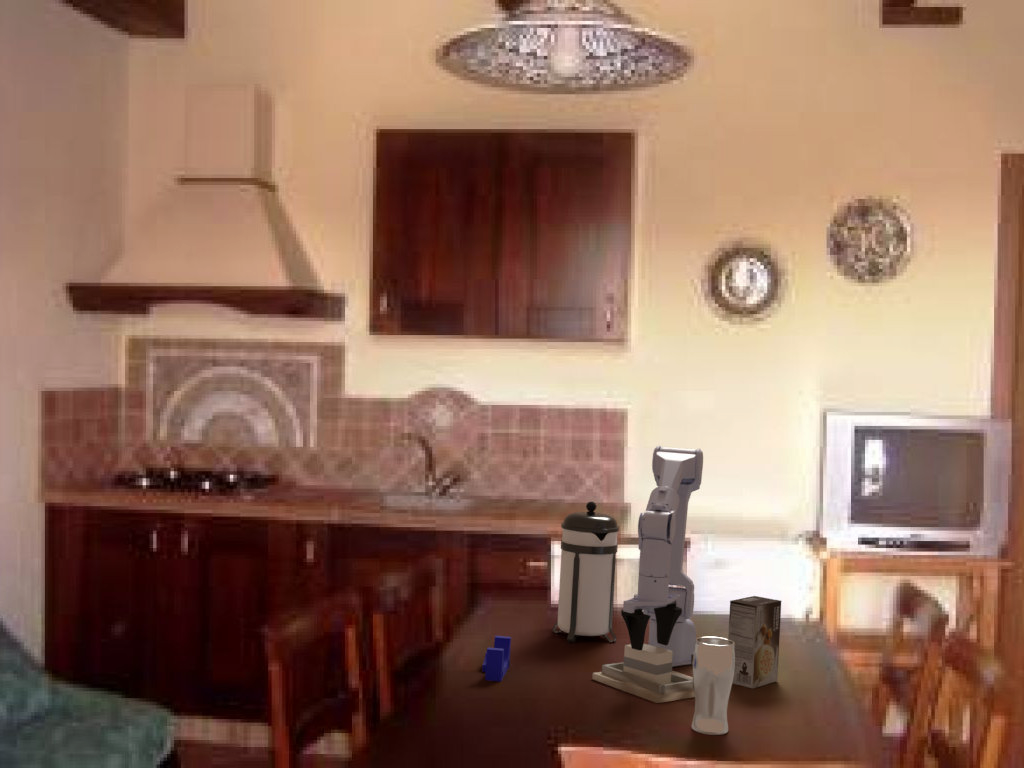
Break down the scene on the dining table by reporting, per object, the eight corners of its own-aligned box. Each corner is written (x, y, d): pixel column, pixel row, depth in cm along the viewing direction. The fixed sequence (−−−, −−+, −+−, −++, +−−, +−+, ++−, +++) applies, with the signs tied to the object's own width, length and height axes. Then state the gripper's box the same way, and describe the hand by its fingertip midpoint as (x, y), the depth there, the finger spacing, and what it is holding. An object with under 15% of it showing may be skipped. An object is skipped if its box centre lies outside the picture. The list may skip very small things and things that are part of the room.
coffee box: (749, 675, 248) (754, 594, 248) (778, 681, 244) (782, 600, 244) (724, 682, 241) (729, 599, 241) (753, 689, 237) (758, 605, 237)
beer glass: (684, 722, 212) (689, 635, 212) (724, 724, 213) (729, 636, 212) (694, 735, 205) (699, 645, 205) (735, 736, 206) (740, 646, 205)
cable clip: (486, 665, 245) (488, 635, 245) (509, 667, 245) (510, 636, 245) (477, 680, 233) (478, 648, 233) (500, 682, 233) (502, 650, 233)
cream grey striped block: (638, 673, 239) (639, 642, 239) (671, 682, 233) (673, 651, 233) (622, 676, 236) (624, 645, 236) (655, 686, 230) (657, 654, 230)
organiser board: (653, 670, 247) (655, 633, 247) (719, 692, 233) (721, 653, 233) (592, 679, 238) (594, 640, 238) (657, 703, 223) (659, 662, 223)
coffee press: (631, 636, 277) (639, 502, 277) (597, 648, 264) (605, 507, 263) (564, 624, 286) (571, 494, 286) (528, 635, 273) (535, 499, 272)
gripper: (661, 568, 242) (657, 637, 242) (612, 574, 232) (608, 647, 232) (690, 574, 237) (686, 645, 237) (641, 580, 227) (637, 655, 227)
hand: (649, 646), depth 234 cm, fingers open, 7 cm apart
